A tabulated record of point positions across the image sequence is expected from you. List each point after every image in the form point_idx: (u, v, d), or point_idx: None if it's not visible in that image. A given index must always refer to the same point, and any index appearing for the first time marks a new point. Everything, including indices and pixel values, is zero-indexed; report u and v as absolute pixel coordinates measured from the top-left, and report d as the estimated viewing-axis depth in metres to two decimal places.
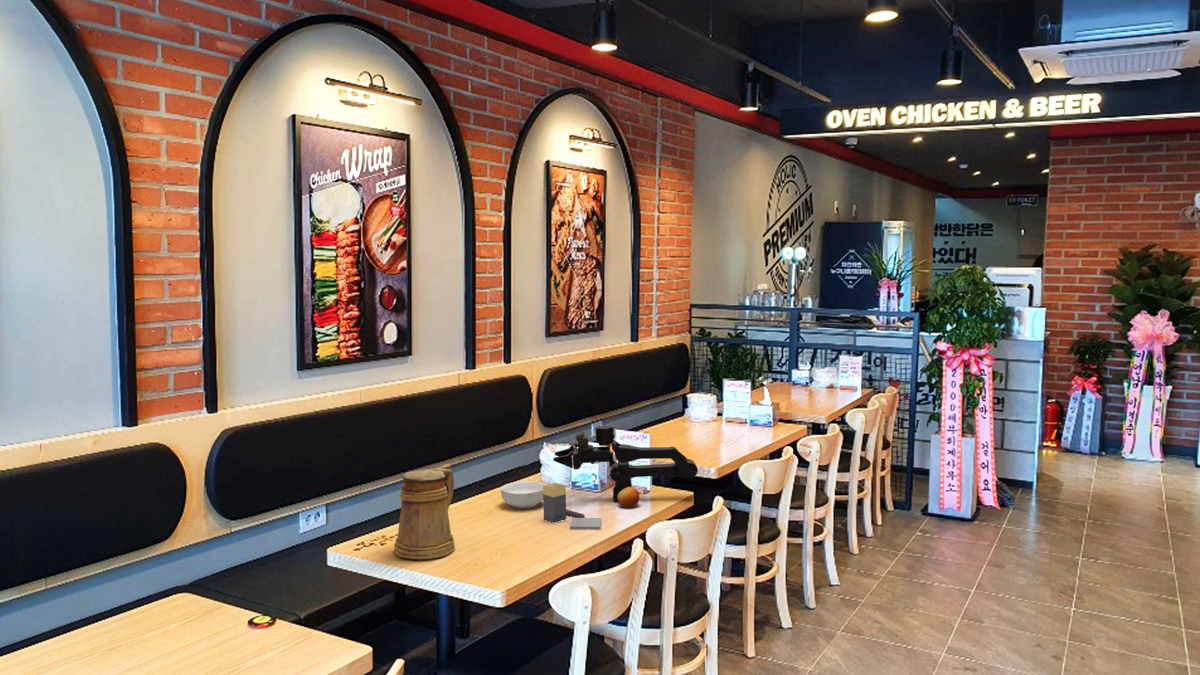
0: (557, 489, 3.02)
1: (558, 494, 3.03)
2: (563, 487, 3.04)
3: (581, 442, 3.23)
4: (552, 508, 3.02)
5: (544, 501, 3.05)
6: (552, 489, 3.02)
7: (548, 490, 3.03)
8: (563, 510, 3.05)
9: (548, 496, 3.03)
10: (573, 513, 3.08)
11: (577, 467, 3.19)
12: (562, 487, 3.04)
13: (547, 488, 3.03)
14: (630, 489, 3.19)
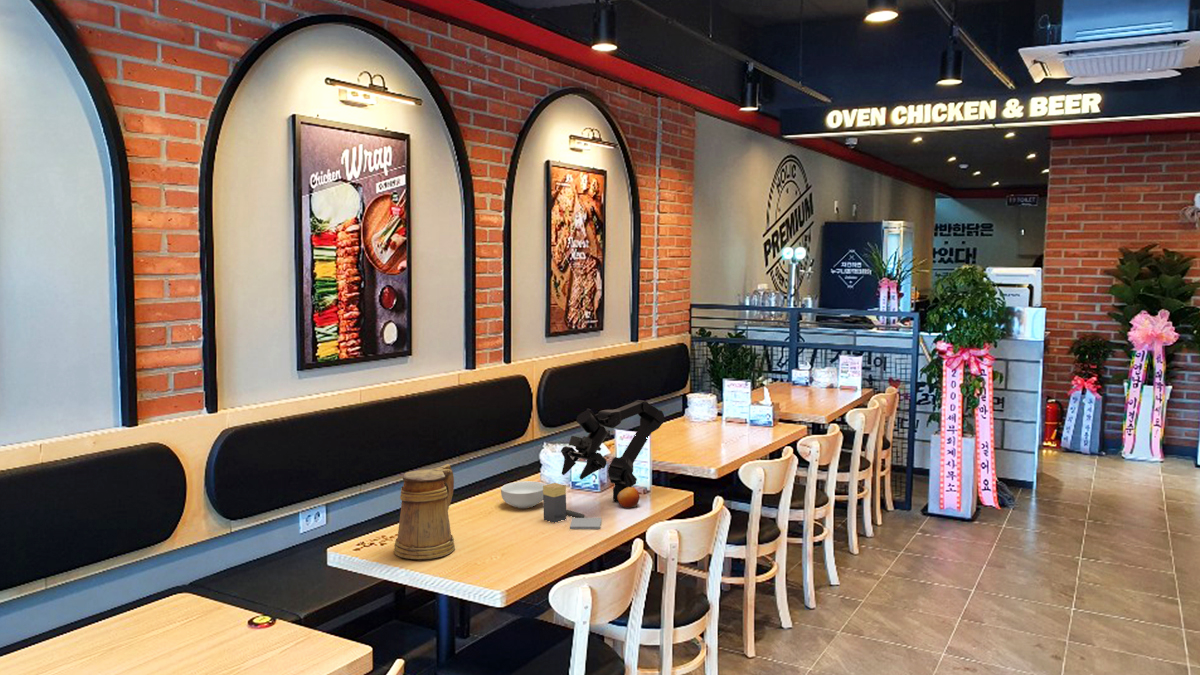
0: (557, 489, 3.02)
1: (558, 494, 3.03)
2: (563, 487, 3.04)
3: (586, 444, 3.09)
4: (552, 508, 3.02)
5: (544, 501, 3.05)
6: (551, 489, 3.02)
7: (548, 490, 3.03)
8: (563, 510, 3.05)
9: (548, 496, 3.03)
10: (573, 513, 3.08)
11: (605, 464, 3.08)
12: (562, 487, 3.04)
13: (547, 488, 3.03)
14: (630, 489, 3.19)
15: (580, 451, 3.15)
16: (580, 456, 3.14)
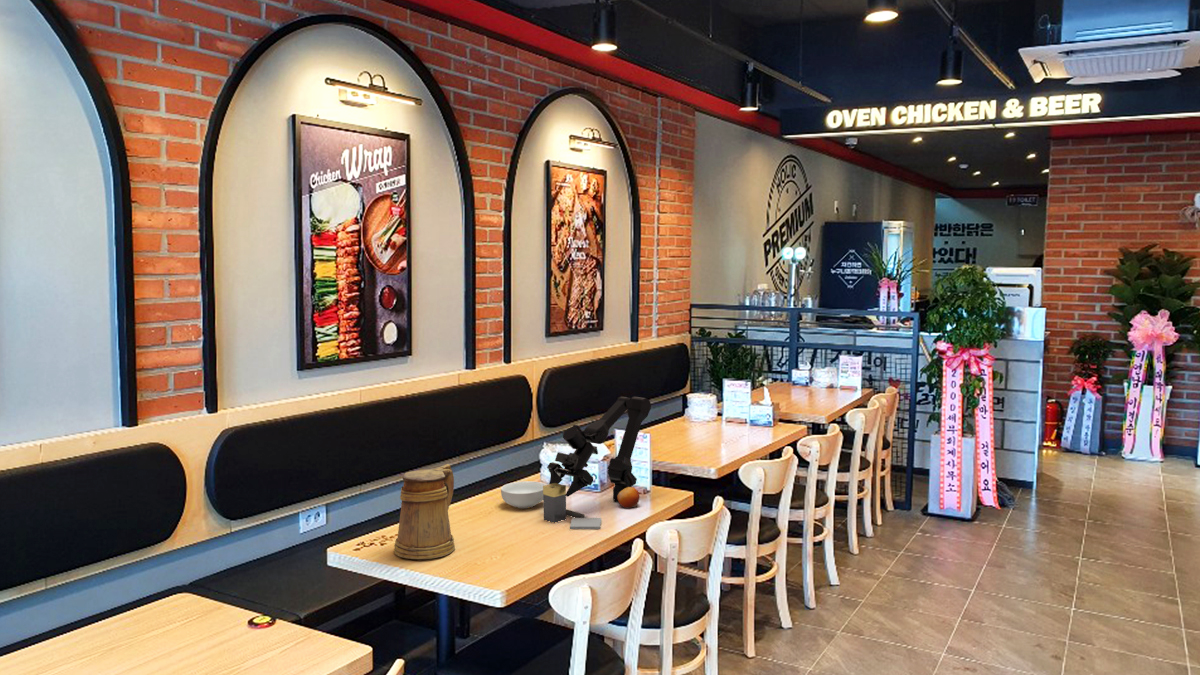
0: (557, 489, 3.02)
1: (558, 494, 3.03)
2: (563, 487, 3.04)
3: (572, 461, 3.04)
4: (552, 508, 3.02)
5: (544, 501, 3.05)
6: (552, 489, 3.02)
7: (548, 490, 3.03)
8: (563, 510, 3.05)
9: (548, 496, 3.03)
10: (573, 513, 3.08)
11: (592, 481, 3.04)
12: (562, 487, 3.04)
13: (547, 488, 3.03)
14: (630, 489, 3.19)
15: (567, 467, 3.11)
16: (566, 473, 3.10)
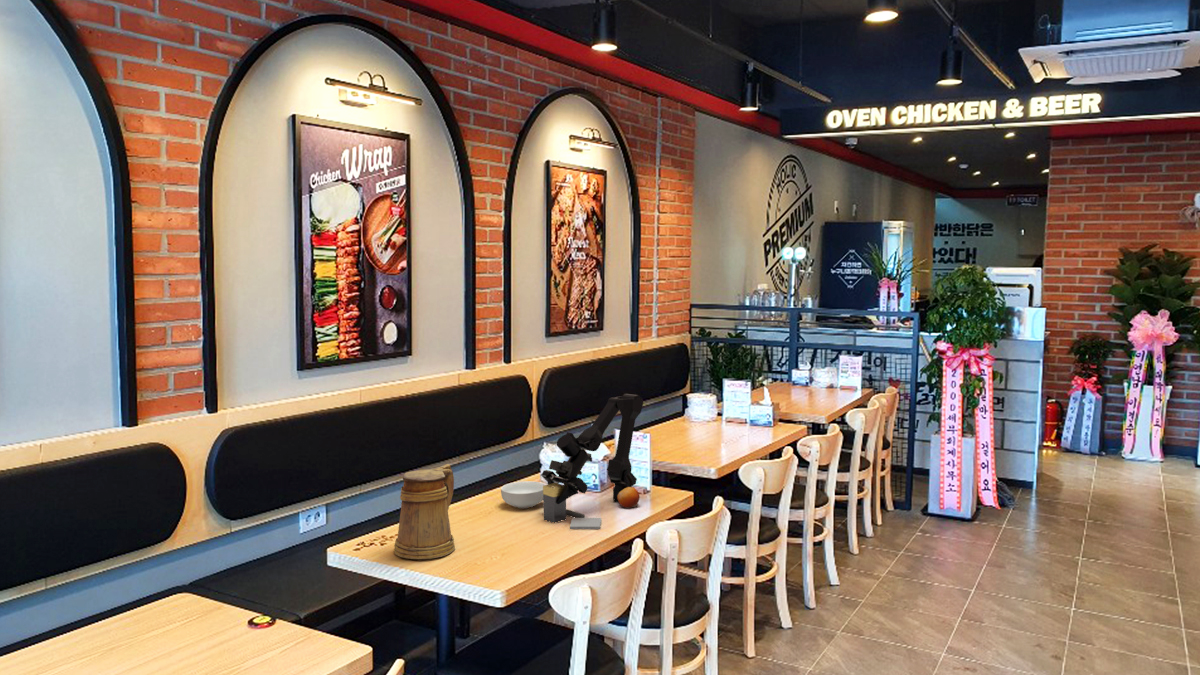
0: (557, 489, 3.02)
1: (558, 494, 3.03)
2: (563, 487, 3.04)
3: (566, 469, 3.03)
4: (552, 508, 3.02)
5: (544, 501, 3.05)
6: (552, 489, 3.02)
7: (548, 490, 3.03)
8: (563, 510, 3.05)
9: (548, 496, 3.03)
10: (573, 513, 3.08)
11: (586, 489, 3.03)
12: (562, 487, 3.04)
13: (547, 488, 3.03)
14: (630, 489, 3.19)
15: (561, 475, 3.09)
16: (561, 480, 3.08)
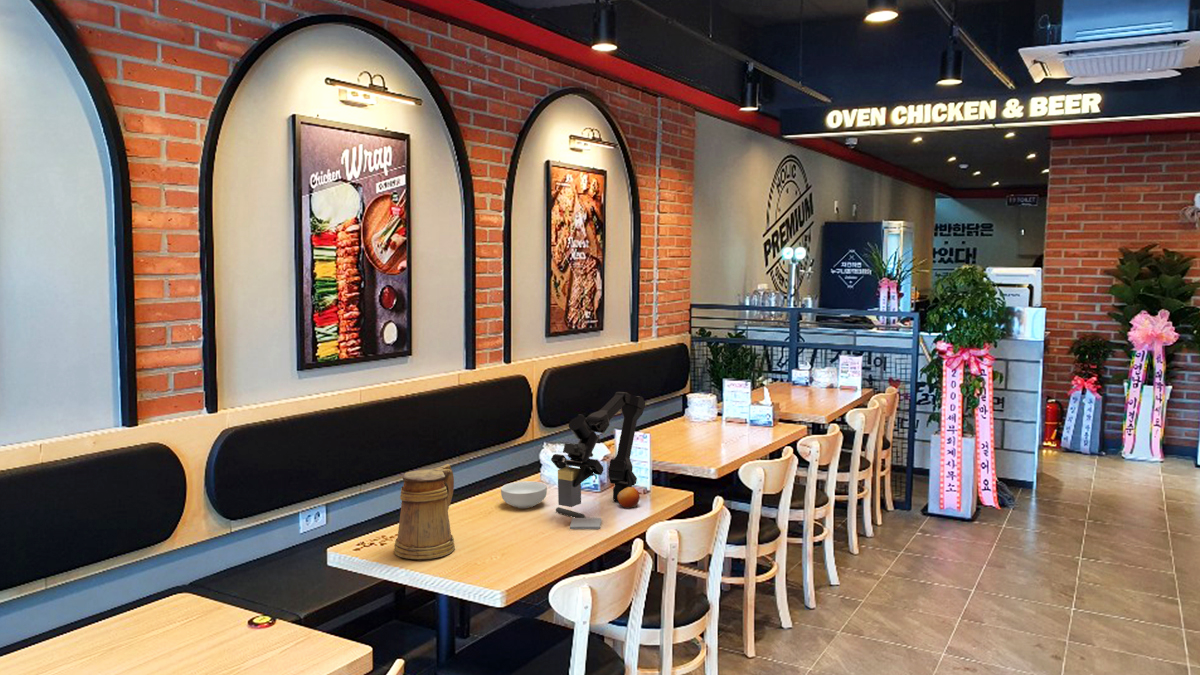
0: (574, 472, 2.98)
1: (574, 477, 2.99)
2: (578, 470, 3.00)
3: (582, 451, 2.99)
4: (569, 492, 2.98)
5: (559, 485, 3.00)
6: (568, 473, 2.97)
7: (564, 474, 2.98)
8: (578, 493, 3.01)
9: (564, 480, 2.98)
10: (573, 513, 3.08)
11: (602, 470, 3.00)
12: (578, 471, 3.00)
13: (563, 472, 2.98)
14: (630, 489, 3.19)
15: (572, 458, 3.05)
16: (573, 463, 3.04)
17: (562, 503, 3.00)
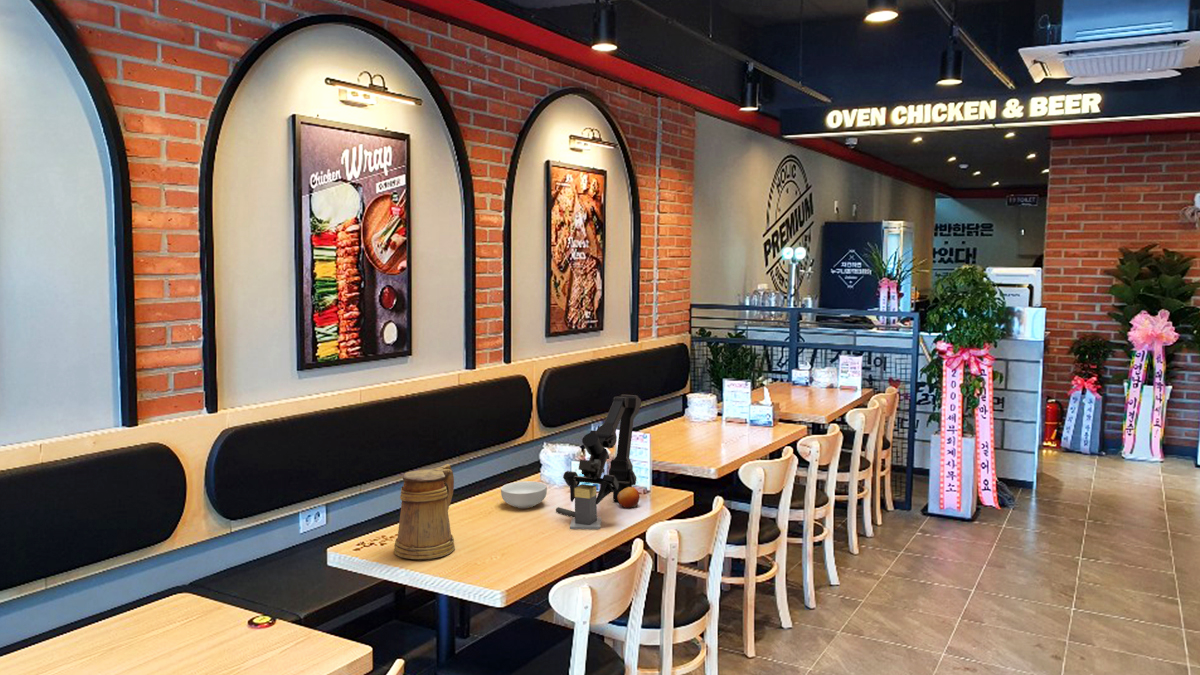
0: (591, 490, 2.96)
1: (592, 495, 2.97)
2: (595, 487, 2.99)
3: (599, 467, 2.98)
4: (587, 510, 2.96)
5: (576, 504, 2.97)
6: (587, 491, 2.95)
7: (582, 492, 2.96)
8: (595, 511, 2.99)
9: (582, 498, 2.96)
10: (573, 513, 3.08)
11: (618, 486, 3.00)
12: (594, 488, 2.98)
13: (580, 490, 2.96)
14: (630, 489, 3.19)
15: (586, 475, 3.03)
16: (587, 480, 3.02)
17: (579, 521, 2.97)
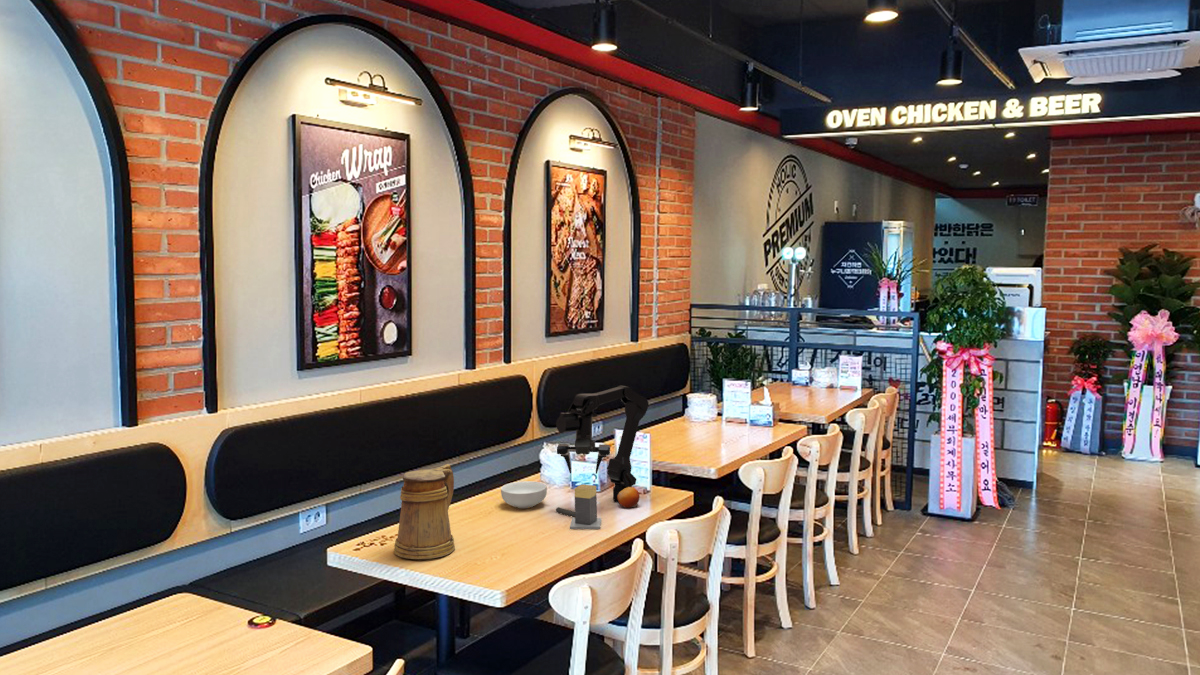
0: (591, 490, 2.96)
1: (592, 495, 2.97)
2: (595, 487, 2.99)
3: None
4: (587, 510, 2.96)
5: (576, 504, 2.97)
6: (587, 491, 2.95)
7: (582, 492, 2.96)
8: (595, 511, 2.99)
9: (582, 498, 2.96)
10: (573, 513, 3.08)
11: None
12: (594, 488, 2.98)
13: (580, 490, 2.96)
14: (630, 489, 3.19)
15: None
16: None
17: (579, 521, 2.97)
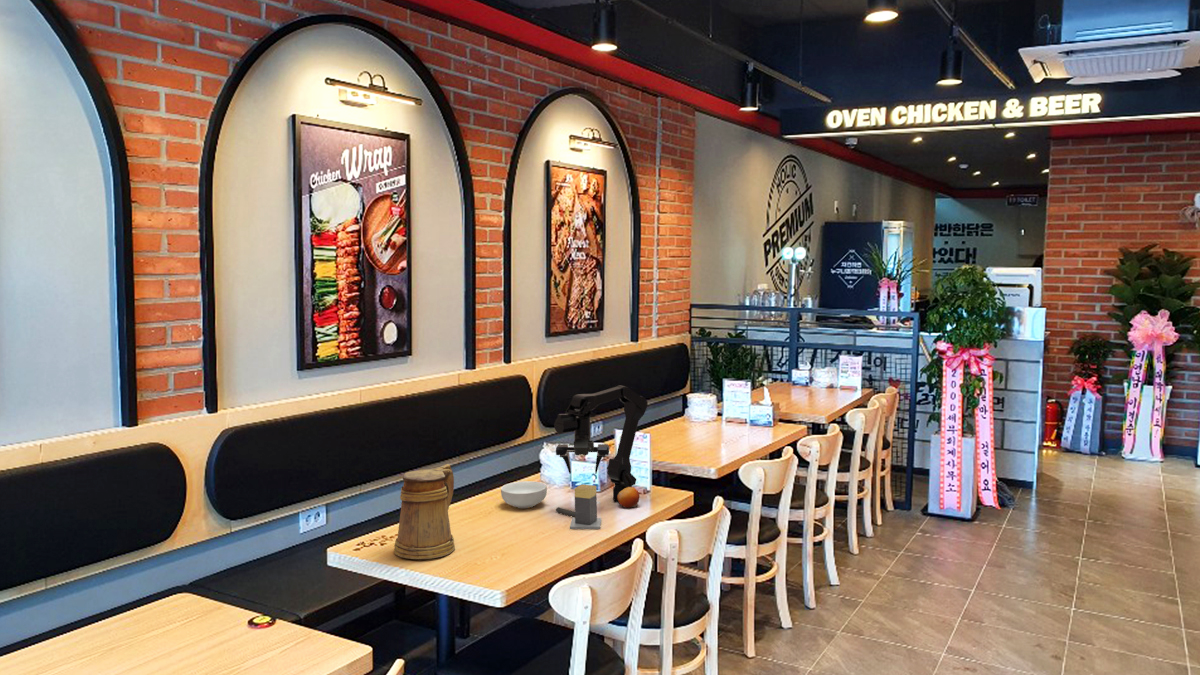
0: (591, 490, 2.96)
1: (592, 495, 2.97)
2: (595, 487, 2.99)
3: (593, 447, 3.10)
4: (587, 510, 2.96)
5: (576, 504, 2.97)
6: (587, 491, 2.95)
7: (582, 492, 2.96)
8: (595, 511, 2.99)
9: (582, 498, 2.96)
10: (573, 513, 3.08)
11: None
12: (594, 488, 2.98)
13: (580, 490, 2.96)
14: (630, 489, 3.19)
15: None
16: None
17: (579, 521, 2.97)
